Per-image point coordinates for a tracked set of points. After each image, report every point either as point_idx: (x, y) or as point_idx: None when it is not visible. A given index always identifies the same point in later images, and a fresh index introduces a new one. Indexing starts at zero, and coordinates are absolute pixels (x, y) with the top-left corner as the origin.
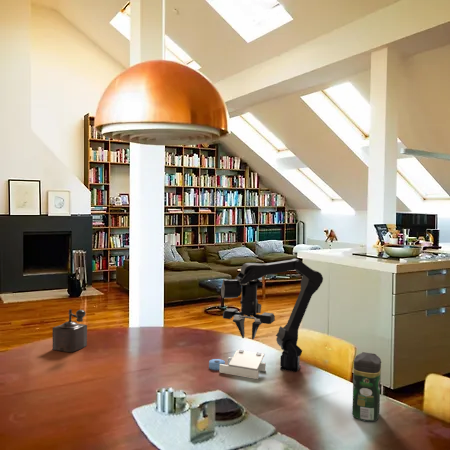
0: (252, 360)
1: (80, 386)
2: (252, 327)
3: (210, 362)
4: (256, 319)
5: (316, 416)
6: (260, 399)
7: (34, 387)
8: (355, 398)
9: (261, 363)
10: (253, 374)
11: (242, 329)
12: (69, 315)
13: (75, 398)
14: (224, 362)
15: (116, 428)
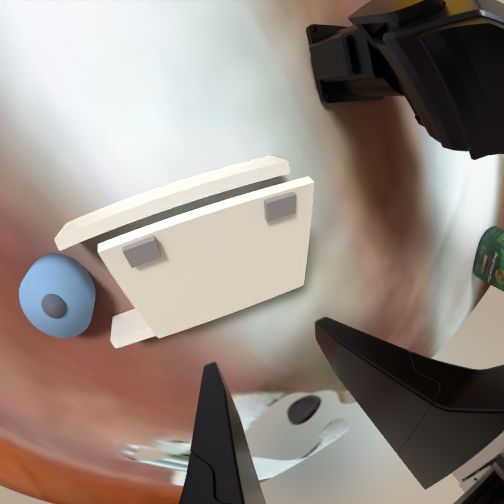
0: (262, 263)
1: (50, 482)
2: (401, 453)
3: (48, 331)
4: (482, 474)
5: (436, 312)
6: None
7: (34, 491)
8: (497, 287)
9: (269, 178)
10: None
11: (251, 467)
12: None
13: (91, 495)
14: (83, 288)
15: None
